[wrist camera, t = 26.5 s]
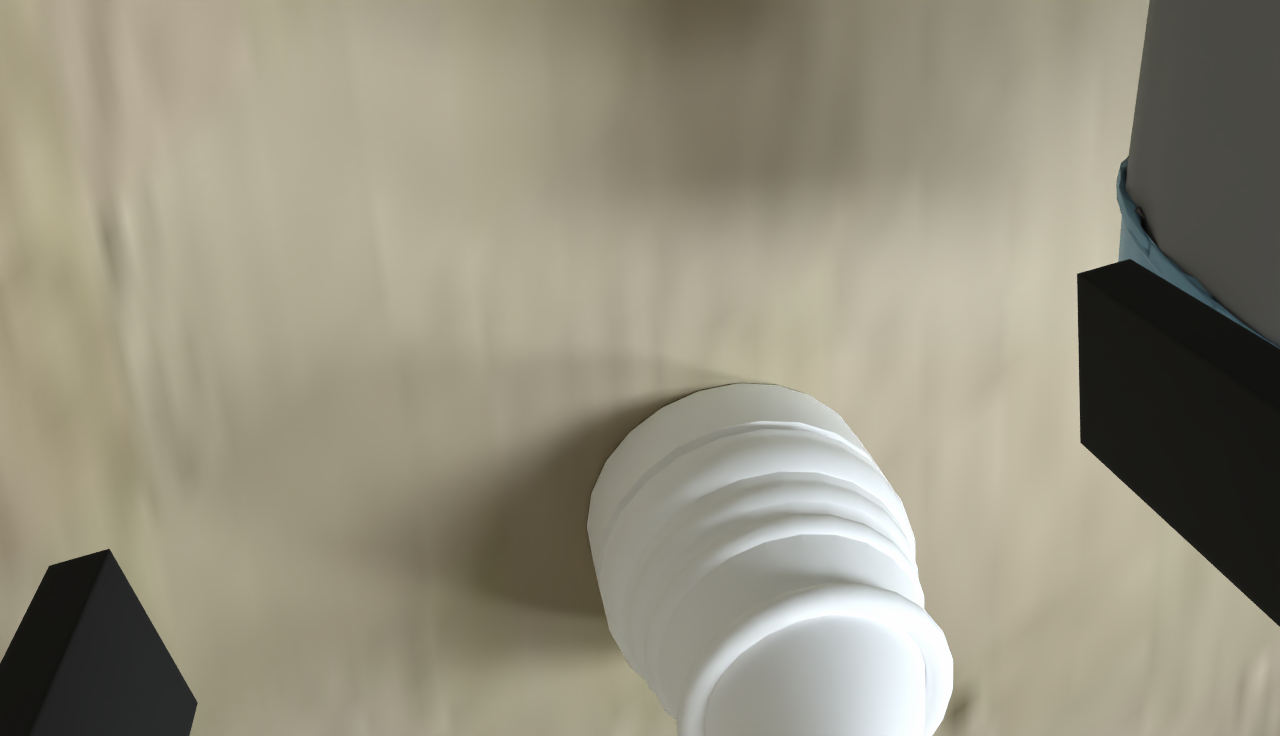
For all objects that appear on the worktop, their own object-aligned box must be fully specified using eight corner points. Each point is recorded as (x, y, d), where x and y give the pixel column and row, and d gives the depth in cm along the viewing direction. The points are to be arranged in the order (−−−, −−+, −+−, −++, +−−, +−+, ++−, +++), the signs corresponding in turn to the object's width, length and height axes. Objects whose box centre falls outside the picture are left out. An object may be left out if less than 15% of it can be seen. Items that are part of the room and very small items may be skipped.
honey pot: (815, 639, 52) (988, 998, 36) (556, 613, 48) (620, 998, 32) (911, 407, 47) (1161, 706, 31) (629, 360, 43) (747, 668, 27)
